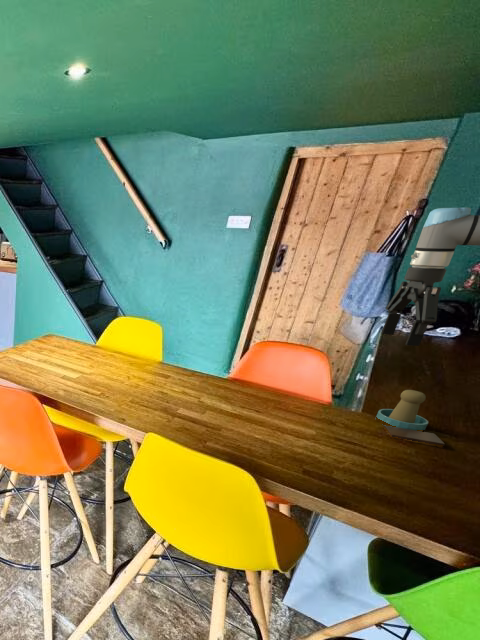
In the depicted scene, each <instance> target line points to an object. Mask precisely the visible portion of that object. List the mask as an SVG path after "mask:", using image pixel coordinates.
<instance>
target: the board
mask: <svg viewBox="0 0 480 640" xmlns="http://www.w3.org/2000/svg"><path fill="white" fill-rule="evenodd" d="M383 427H385V428H386V429H387V430H388V432H389V433H390V435H391V436H392V437H398V438H401V439H407V440H412V441H418V442H425V443H429V444H436V445H437V444H438V445H443V446H444V447H445V443H444V441H443V440H442V439H441V438H439V436H438V435H436V433H433V432H428V431H424V432H422V431H416V430H410V429H404V428H398V427H392V426H386V425H383Z"/></svg>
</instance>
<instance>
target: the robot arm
mask: <svg viewBox="0 0 480 640" xmlns="http://www.w3.org/2000/svg"><path fill="white" fill-rule="evenodd" d="M471 212H472V208H471V207H439V208H435V209H432V210H431V211H430V212H429V214H428V216H427V218H426V220H425V222H424V225H423V227H422V230H421V232H420V235H419V238H418V241H417V242H416V243H417V244H416V245H415V248H414V252H413V254H411V255H410V257H411V260H410V262H409V265H410V266H409V267H408V268H407V269H406V273H405V275H404V281H402V282H401V283H400V285H399V287H398V289H397V290H396V292H395V293H394V294H393V296H392V298H391V299H390V301H389V302H388V304H387V305H386V306H385V310H387V313H388V314H387V318H386V320H385V321H384V324H383V327H382V330H381V334H382V335H394V334H395V332H396V329H397V327H398V324H399V321H400V319H401V317H402V313H403V310H404V309H405V308H406V307H407V306H409V304H410V303H411V302H413V303H414V304H415V314H416V315H415V316H416V320H414V321H413V324H412V326H411V328H410V331H409V334H408V336H407V339H406V341H405V344H404V345H406V346H413V347H419V346H420V344H421V343H422V340H423V338H424V335H425V333H426V330H427V329H428V328H427V327H428V325H430V324H435V323H436V322H437V319H438V308H439V298H440V294H441V291H442V287H441V286H434V284H435V283H440V282H442V281H443V279H444V277H445V275H446V272H447V269H446V268H445V267H448V266H449V265H450V263H451V260H452V258H453V257H454V253H455V250H456V248H457V246H480V215H477V214H476V215H475V214H472V213H471Z"/></svg>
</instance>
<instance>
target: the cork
mask: <svg viewBox="0 0 480 640" xmlns="http://www.w3.org/2000/svg"><path fill="white" fill-rule="evenodd" d="M426 397H427V396H426V394H425V393H424V392H422V391H418V390H414V389H404V390H403V391H402V392H401V393H400V400H399V402H398V403H397V405H396V406H395V408H394V409H393V412H392V413H391V414H390V416H389V418H392V419H395V420H398V421H402V422H407V423H415V419H416V416H417V415H418V412H419V409H420V406H421V404H422V403H424V402H425V401H426Z"/></svg>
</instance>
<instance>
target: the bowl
mask: <svg viewBox="0 0 480 640" xmlns="http://www.w3.org/2000/svg"><path fill="white" fill-rule="evenodd" d="M393 410H394V409H392V408H382V409H379V410H378V411H377V414H376V416H375V418H376V417H377V418H378V419H380V420H382V421H384V422H386V423H388V424H390V425H392V426H396V427H398V428H404V429H410V430H416V431H417V430H425V431H426V429H427V426H428V425H429V420H427V419H426V418H424V417H423V416H421V415H418V414H417V416H416V419H415V423H407V422H402V421H398V420H395V419H392V418H389V416H390V414H391V413H392V412H393Z"/></svg>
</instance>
